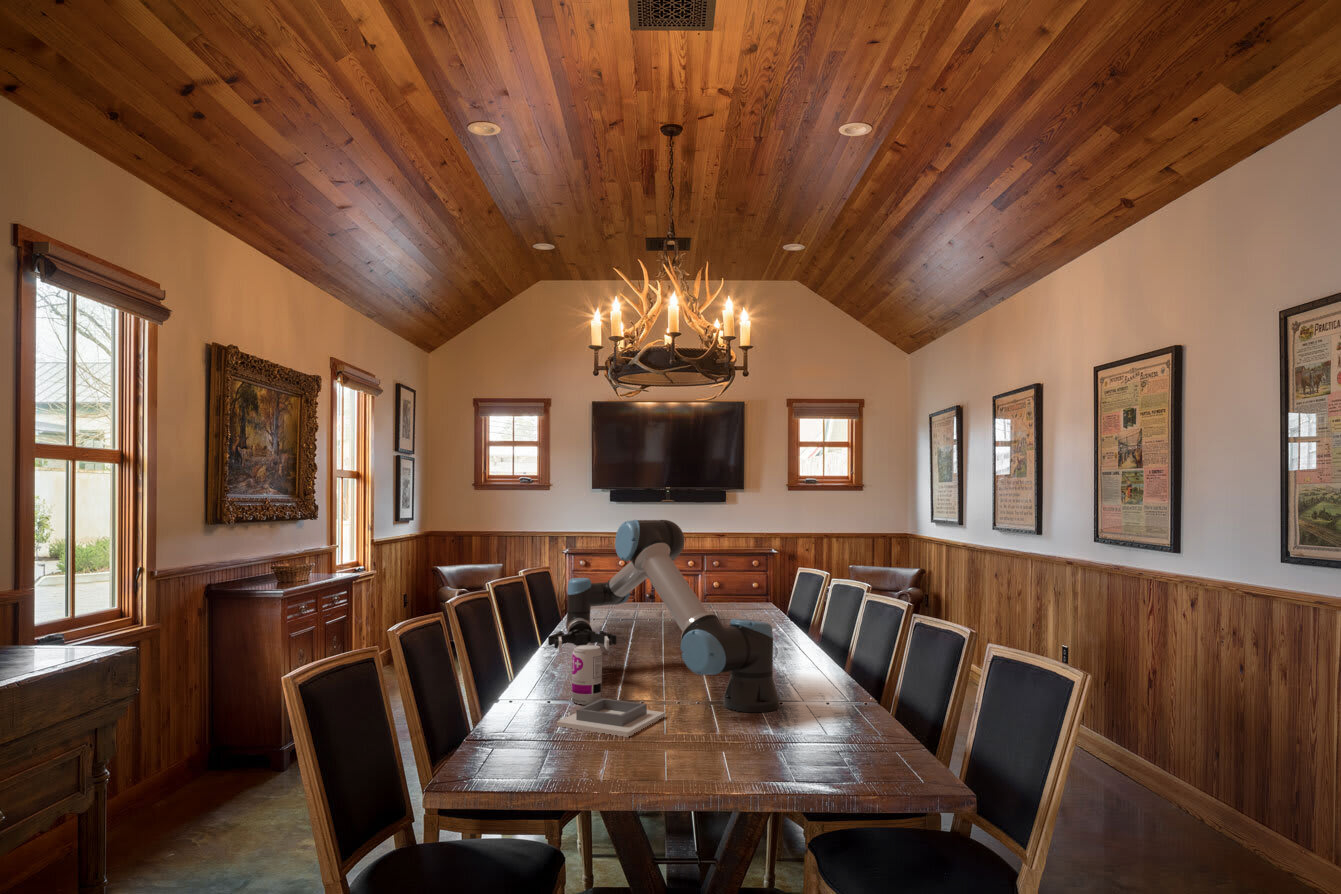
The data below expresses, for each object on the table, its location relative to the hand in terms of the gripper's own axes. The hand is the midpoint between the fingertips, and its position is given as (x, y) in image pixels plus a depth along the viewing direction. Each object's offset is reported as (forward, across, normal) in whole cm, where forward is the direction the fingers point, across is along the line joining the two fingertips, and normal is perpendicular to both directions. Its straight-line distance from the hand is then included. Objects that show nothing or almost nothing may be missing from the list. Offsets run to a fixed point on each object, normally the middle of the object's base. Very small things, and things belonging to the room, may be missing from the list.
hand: (584, 645), depth 239 cm
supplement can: (+10, 0, -14) cm, 17 cm away
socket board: (+31, -5, -13) cm, 34 cm away
